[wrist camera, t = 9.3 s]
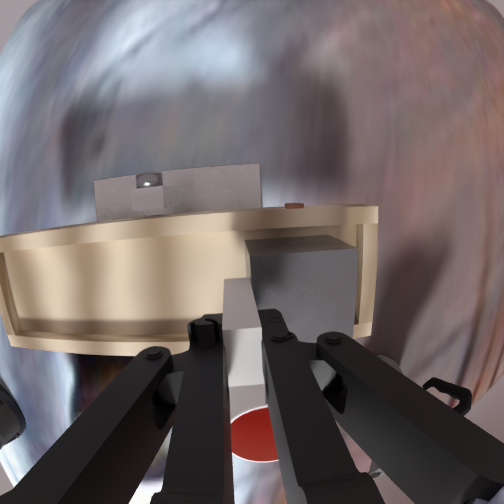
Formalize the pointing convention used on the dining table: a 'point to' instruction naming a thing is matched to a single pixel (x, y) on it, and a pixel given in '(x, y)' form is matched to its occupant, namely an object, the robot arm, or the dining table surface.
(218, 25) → the dining table surface
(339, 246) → the block
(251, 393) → the cup
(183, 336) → the beam
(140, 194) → the stand
